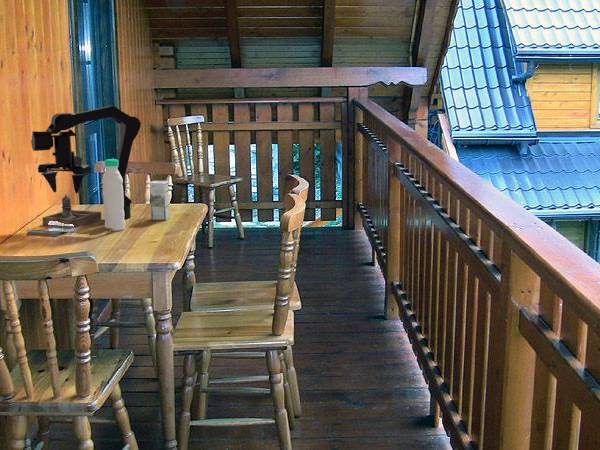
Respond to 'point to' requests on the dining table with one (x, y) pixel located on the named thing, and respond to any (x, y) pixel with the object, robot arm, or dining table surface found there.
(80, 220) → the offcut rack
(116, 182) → the white bottle
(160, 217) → the syrup box
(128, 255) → the dining table surface
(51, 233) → the slate pad
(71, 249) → the dining table surface
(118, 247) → the dining table surface
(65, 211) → the grey turned upright piece
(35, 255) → the dining table surface
